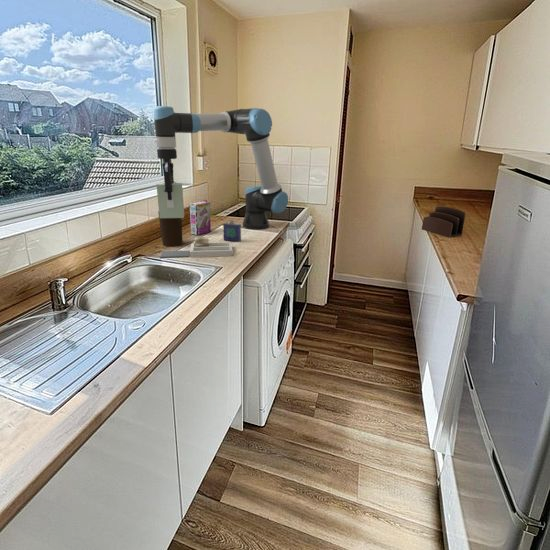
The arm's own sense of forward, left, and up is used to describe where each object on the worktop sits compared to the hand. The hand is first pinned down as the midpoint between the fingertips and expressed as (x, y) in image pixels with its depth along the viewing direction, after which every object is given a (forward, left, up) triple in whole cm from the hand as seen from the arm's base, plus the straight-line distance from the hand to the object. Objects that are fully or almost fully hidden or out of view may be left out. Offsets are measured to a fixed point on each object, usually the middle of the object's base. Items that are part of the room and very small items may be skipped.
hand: (171, 206), depth 158 cm
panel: (0, 0, -5) cm, 5 cm away
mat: (0, 0, -21) cm, 21 cm away
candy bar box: (-10, -38, -22) cm, 45 cm away
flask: (-26, -21, -22) cm, 40 cm away
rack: (-16, -3, -21) cm, 27 cm away
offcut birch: (-12, -6, -19) cm, 23 cm away
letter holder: (-145, -29, -22) cm, 150 cm away
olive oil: (+3, -18, -22) cm, 28 cm away
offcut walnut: (-12, -6, -22) cm, 25 cm away
